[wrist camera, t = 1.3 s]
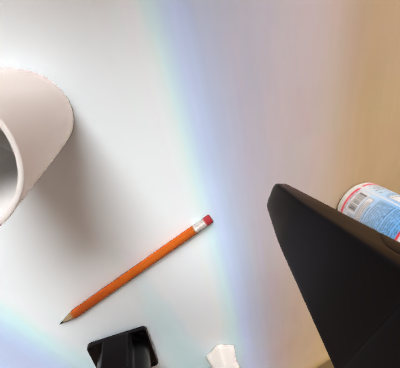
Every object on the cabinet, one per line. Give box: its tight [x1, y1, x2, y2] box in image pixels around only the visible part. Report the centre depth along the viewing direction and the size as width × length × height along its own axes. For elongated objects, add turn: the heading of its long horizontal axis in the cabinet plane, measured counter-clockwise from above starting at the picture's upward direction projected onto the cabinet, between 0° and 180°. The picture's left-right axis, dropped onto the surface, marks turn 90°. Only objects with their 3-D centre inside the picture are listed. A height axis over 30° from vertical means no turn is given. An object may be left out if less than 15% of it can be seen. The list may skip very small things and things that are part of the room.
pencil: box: [60, 215, 213, 324], centre depth 27 cm, size 1×19×1 cm, turn 123°
